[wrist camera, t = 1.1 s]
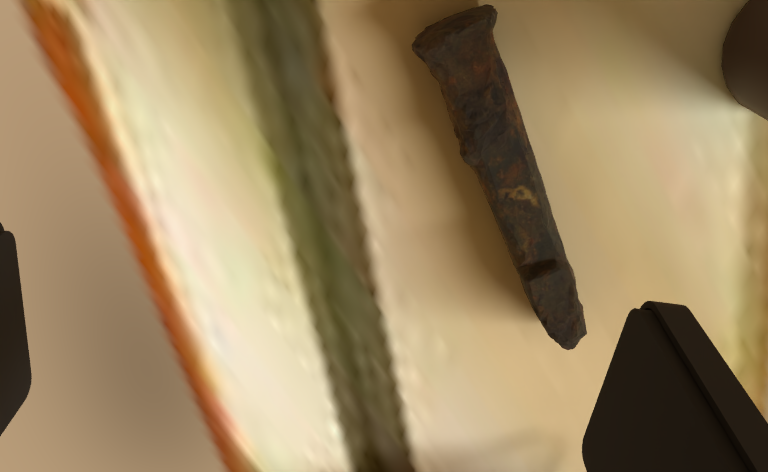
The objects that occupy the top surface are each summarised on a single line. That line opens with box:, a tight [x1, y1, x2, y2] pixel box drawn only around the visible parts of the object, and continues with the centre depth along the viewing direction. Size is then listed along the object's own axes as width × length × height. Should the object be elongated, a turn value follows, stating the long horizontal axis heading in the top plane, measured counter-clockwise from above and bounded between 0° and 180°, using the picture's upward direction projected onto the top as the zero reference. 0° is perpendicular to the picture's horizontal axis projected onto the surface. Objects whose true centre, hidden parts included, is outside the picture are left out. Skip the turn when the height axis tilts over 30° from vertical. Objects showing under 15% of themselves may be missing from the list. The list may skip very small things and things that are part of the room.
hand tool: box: [412, 4, 587, 350], centre depth 35 cm, size 19×4×5 cm, turn 21°
